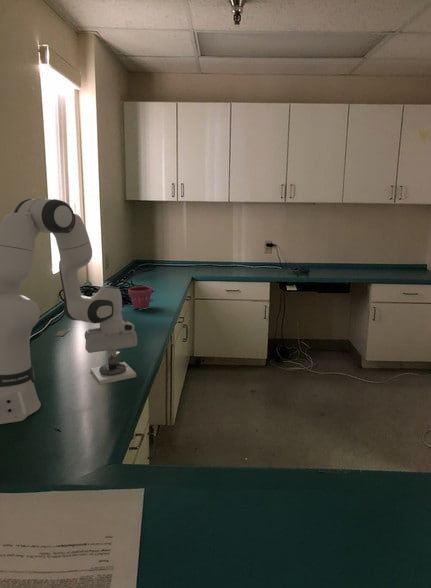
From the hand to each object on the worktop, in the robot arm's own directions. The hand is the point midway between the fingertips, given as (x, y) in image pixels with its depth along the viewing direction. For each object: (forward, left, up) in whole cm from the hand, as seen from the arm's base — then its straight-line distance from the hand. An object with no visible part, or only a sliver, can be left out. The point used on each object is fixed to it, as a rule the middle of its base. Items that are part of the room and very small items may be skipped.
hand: (112, 359), depth 178 cm
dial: (-1, -5, -2) cm, 5 cm away
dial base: (-1, -5, -4) cm, 7 cm away
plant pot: (+43, +89, -4) cm, 99 cm away
